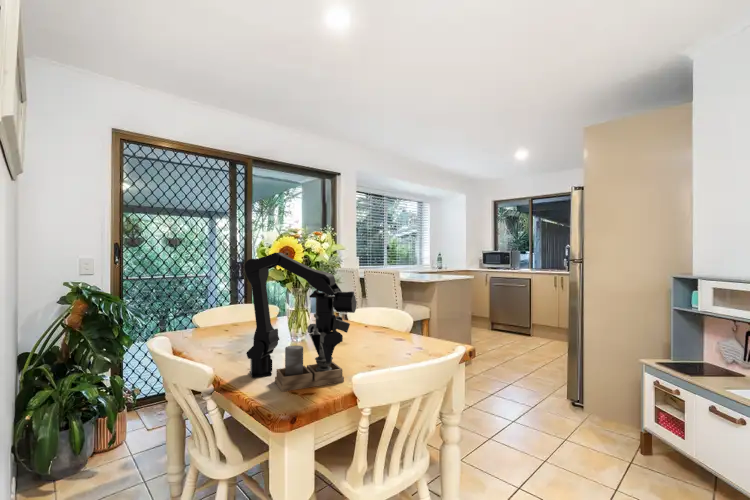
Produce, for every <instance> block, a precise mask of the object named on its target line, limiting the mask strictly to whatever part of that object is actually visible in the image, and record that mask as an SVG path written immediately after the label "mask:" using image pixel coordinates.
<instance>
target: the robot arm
mask: <svg viewBox="0 0 750 500" xmlns="http://www.w3.org/2000/svg"><path fill="white" fill-rule="evenodd" d="M277 266H278V267H280V268H282V269H283V270H285V271H287V272H290V273H291V274H294V275H295V276H297V277H300V278H301V279H303V280H305V281H306V282H307V283H308V284H309V285H310V286H311V287H312V288H313V289H314V290H313V292H312V293H311V294H310V295H308V296H309V298H312V299H313V298H314V299H315V313H313V317H314V318H315V323H310V324H309V325H308V326H307V333H308V336H309V337H310V340H311V341H312V344H313V346H314V348H315V351H316V353H317V355H318V356H319V353H320V348H319V346H320V344H321V347H322V350H323V353H324V356H325V359H326V362H327V363H328V362H330V360H331V357H332V356H333V353H334V351H335V348H336V346H337V345H339V344H341V343H342V342H343V335H344V334H341V333H340V332H339V331H341V332H344V333H346V334H348V332H349V328H350V325H351V323H350V322H347V321H345V320H343V317H341V316H339V315H335V314H334V311H336V313H350V314H351V313H355V312H356V310H357V299H356V295H355V291H342V290H341V288H340V287H339V285H338V284H337V282H336V277H335V275H334V274H332V273H329V272H326V271H323V270H319V269H315V268H312V267H310V266H308V265H306V264H303V263H302V262H299V261H297V260H296V259H293V258H291V257H289V256H288V255H286V254H285V253H283V252H273V253H271V254H269V255H265V256H261V257H259V258H249V259H248V260H247V261H246V262H245V263H244V264H243V269H244V274H245V277H246V280H247V281H248V283H249V284H250V286H251V292H252V293H251V294H252V299H253V300H252V301H253V308H254V309H253V310H254V317H255V325H256V327H255V331H254V334H253V345H252V347H250V348H249V350H247V351H246V353H245V354H246V357H247V360H250V362H249V363H250V370H249V374H250V377H251V378H259V377H266V376H272V374H273V373H272V372H273V359H272V358H271V354H273V352H274V350H275V349H276V347H277V346H278V345H279V344H278V343H279V341H280V337H279V330H278V328H274V327H273V325H272V322H271V314H270V312H271V311H270V306H269V305H270V304H269V298H268V297H269V296H268V290H267V283H268V282H267V281H268V278H269V274H270V272H269V271H270V269H273V268H275V267H277ZM337 330H338V331H337ZM320 339H321V342H320Z"/></svg>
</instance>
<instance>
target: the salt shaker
mask: <svg viewBox="0 0 750 500" xmlns="http://www.w3.org/2000/svg"><path fill="white" fill-rule="evenodd" d="M320 342H321V339H320ZM319 348H320V353H319V355H318V356H316V357H314V360H315V364H317V365H318V366H319V367H317V368H316V370H317V371H320V372H322V371H329V370H332V368H331V367H330V366H329V365H330V364H331V363H332V362H333V360H334V357H331V360H330V362H328V363H327V362H326V359H325V356H324V353H323V350H322V347H321V344H320V346H319Z"/></svg>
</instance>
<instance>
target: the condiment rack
mask: <svg viewBox="0 0 750 500" xmlns="http://www.w3.org/2000/svg"><path fill="white" fill-rule="evenodd" d="M284 349H285V350H284V355H285V356H284V365H285V366H284V367H282V368H276V376H274V383H275V384H276V385H277V386H278V388H279V390H280V391H281V392H282V393H283V392H288V391H294V390H300V389H307V388H313V387H319V386H320V387H321V386H326V385H331V384H339V383H344V382H345V377H344V376H343V368H341V367H340V366H339V365H338V364H337V363H335V362H334V361H332V363H331V364H330V365H329V366H330V367H331V368H332V370H329V371H322V372H320V371H317V370H316V368H317V367H319V366H318V365H317V363H314V364H313V363H312V364H307V365H306V366H305V365H304V346H303V345H288V346H286V347H284Z"/></svg>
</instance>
